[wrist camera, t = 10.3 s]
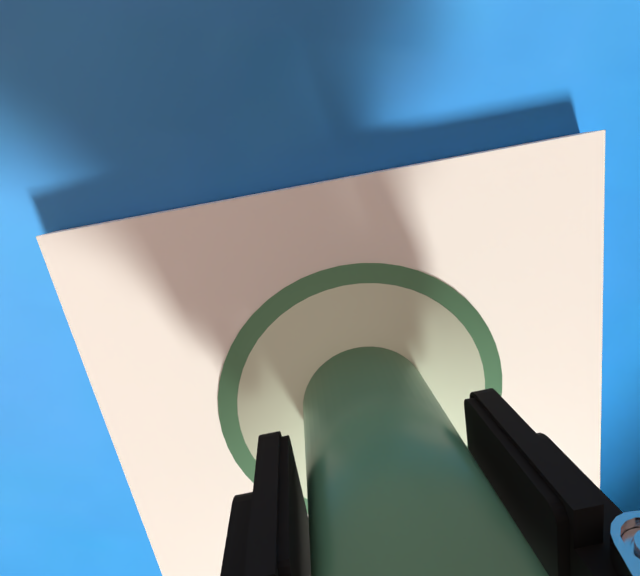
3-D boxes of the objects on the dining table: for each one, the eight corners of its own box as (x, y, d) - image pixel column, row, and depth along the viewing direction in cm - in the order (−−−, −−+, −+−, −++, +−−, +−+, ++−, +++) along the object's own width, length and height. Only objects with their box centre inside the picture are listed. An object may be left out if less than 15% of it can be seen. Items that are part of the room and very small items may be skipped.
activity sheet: (580, 133, 13) (607, 129, 12) (581, 611, 18) (599, 638, 17) (55, 231, 12) (33, 236, 11) (220, 690, 18) (216, 723, 17)
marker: (422, 331, 13) (812, 810, 3) (436, 446, 14) (753, 1049, 4) (287, 357, 13) (277, 924, 3) (312, 470, 14) (360, 1138, 4)
